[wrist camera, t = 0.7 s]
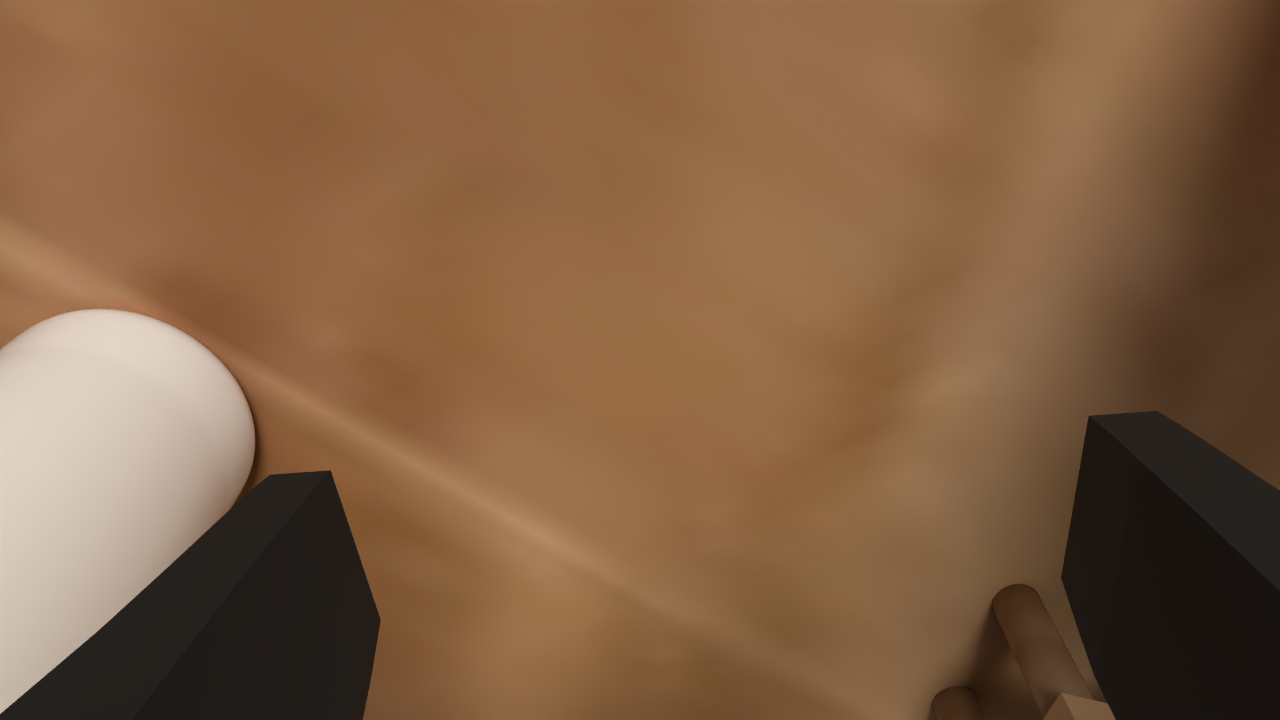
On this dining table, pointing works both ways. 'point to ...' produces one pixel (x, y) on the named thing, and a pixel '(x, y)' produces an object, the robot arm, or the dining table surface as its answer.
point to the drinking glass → (104, 474)
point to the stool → (1031, 665)
